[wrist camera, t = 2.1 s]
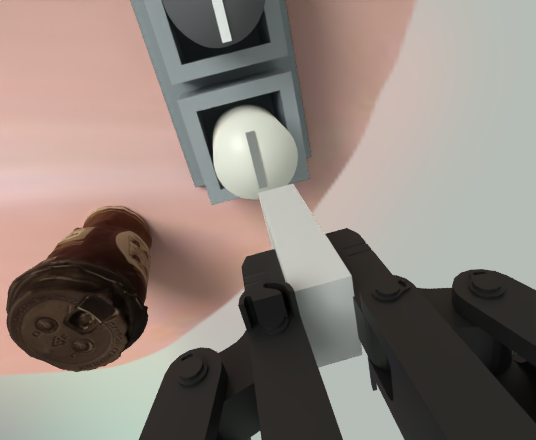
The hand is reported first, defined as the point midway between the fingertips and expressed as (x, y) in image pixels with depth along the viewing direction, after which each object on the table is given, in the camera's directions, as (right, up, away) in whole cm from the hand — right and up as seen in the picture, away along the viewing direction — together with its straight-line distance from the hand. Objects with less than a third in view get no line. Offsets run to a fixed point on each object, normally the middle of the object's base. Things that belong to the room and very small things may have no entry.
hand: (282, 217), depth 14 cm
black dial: (-4, +14, +8) cm, 16 cm away
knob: (-2, +6, +12) cm, 14 cm away
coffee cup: (-15, -1, +19) cm, 24 cm away
